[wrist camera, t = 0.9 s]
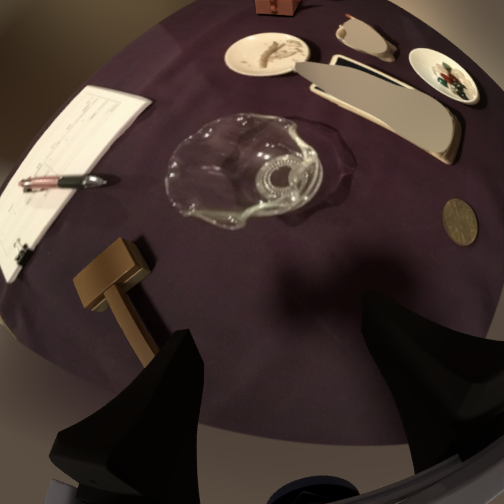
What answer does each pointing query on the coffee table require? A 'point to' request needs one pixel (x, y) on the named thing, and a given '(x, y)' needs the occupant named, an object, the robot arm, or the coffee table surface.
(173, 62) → the coffee table surface
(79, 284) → the brown t-shaped piece
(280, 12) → the teapot
